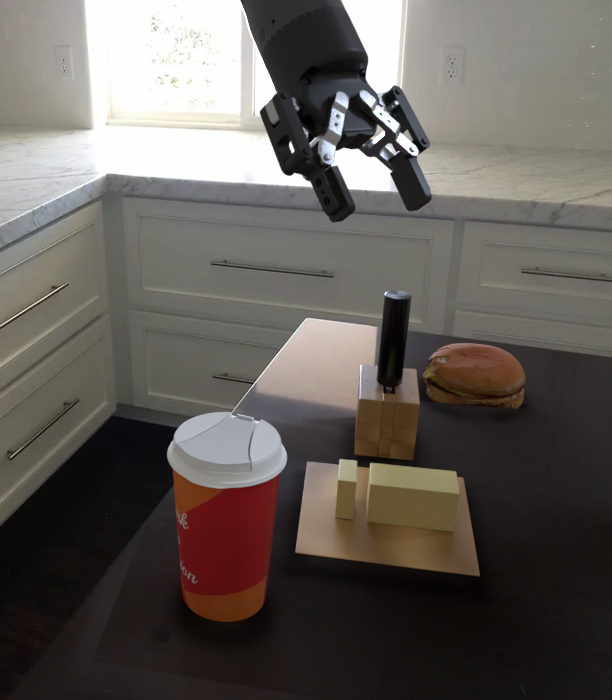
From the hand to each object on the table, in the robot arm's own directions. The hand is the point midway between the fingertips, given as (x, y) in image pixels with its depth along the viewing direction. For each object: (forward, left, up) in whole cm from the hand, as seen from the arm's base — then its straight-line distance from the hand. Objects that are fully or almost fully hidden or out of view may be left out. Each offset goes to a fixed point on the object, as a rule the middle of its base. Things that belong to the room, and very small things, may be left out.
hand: (384, 211), depth 66 cm
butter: (-4, +8, -22) cm, 24 cm away
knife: (-2, -4, -24) cm, 24 cm away
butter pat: (0, +8, -22) cm, 24 cm away
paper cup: (+9, +20, -24) cm, 32 cm away
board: (-2, +8, -24) cm, 25 cm away
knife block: (-2, -4, -24) cm, 24 cm away
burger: (-11, -17, -24) cm, 32 cm away
